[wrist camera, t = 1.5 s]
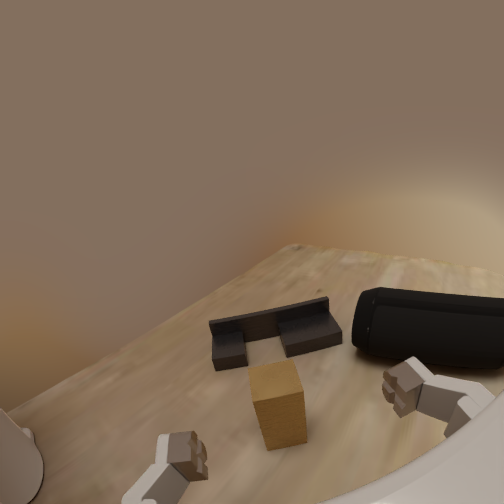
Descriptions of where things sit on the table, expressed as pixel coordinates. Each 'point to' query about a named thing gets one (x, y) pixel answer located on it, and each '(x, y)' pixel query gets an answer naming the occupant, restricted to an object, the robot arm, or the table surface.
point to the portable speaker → (430, 327)
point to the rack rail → (275, 331)
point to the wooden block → (279, 404)
